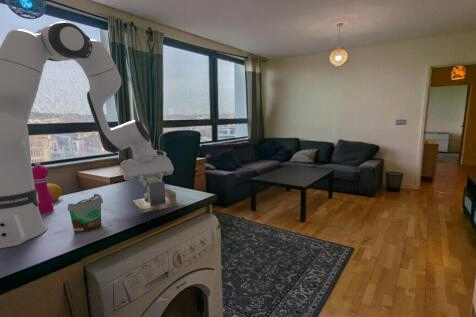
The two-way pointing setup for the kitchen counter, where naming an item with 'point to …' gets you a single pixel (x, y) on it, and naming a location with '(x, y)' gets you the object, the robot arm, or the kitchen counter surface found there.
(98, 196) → the food container
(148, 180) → the pale green block
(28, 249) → the kitchen counter surface
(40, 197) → the pepper mill
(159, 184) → the gray rectangular slab
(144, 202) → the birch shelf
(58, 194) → the fruit
